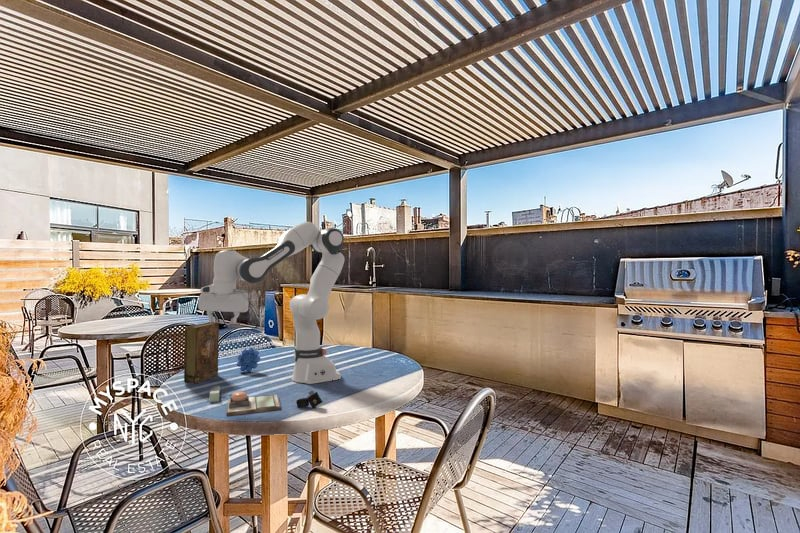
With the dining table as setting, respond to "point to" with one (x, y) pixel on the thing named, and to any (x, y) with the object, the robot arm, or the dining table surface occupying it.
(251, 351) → the grapes
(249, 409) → the picture board
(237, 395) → the button
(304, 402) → the black angular piece
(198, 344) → the book
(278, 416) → the dining table surface
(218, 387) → the marker
